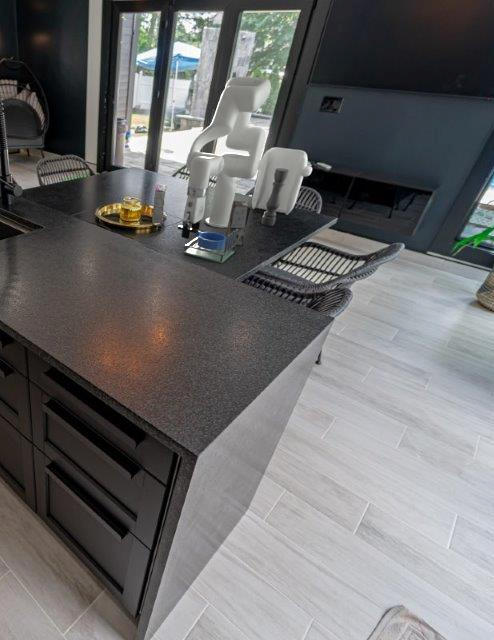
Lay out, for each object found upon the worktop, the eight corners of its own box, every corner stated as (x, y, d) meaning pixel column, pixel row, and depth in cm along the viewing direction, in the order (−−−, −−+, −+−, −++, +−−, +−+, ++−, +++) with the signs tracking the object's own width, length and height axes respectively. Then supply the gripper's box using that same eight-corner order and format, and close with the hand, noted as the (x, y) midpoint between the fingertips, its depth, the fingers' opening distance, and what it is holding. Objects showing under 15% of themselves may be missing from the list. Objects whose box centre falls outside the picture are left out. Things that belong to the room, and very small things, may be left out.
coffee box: (242, 245, 173) (251, 207, 163) (226, 243, 173) (235, 206, 164) (239, 237, 180) (248, 201, 171) (224, 236, 181) (232, 200, 172)
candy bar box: (152, 218, 199) (156, 184, 190) (163, 219, 199) (167, 184, 189) (150, 225, 190) (154, 190, 181) (161, 226, 190) (165, 190, 180)
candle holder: (274, 222, 199) (289, 169, 184) (273, 226, 194) (289, 171, 180) (261, 220, 201) (275, 167, 186) (260, 224, 196) (274, 170, 182)
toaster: (300, 211, 215) (319, 150, 198) (296, 217, 207) (315, 154, 190) (248, 202, 226) (262, 144, 209) (243, 207, 219) (257, 147, 201)
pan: (182, 233, 173) (184, 222, 170) (227, 244, 164) (230, 233, 161) (171, 239, 166) (172, 229, 163) (218, 252, 156) (220, 240, 154)
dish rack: (198, 243, 173) (202, 219, 167) (234, 252, 166) (239, 227, 160) (183, 253, 164) (187, 228, 158) (221, 263, 156) (227, 237, 150)
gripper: (196, 198, 148) (189, 243, 158) (214, 188, 160) (206, 231, 170) (178, 194, 152) (172, 238, 162) (197, 185, 164) (190, 227, 174)
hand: (190, 234), depth 166 cm, fingers open, 8 cm apart
